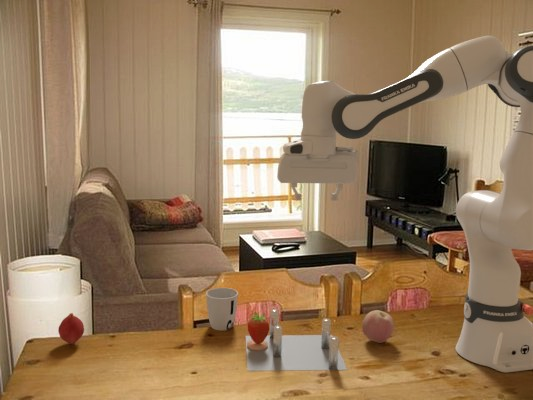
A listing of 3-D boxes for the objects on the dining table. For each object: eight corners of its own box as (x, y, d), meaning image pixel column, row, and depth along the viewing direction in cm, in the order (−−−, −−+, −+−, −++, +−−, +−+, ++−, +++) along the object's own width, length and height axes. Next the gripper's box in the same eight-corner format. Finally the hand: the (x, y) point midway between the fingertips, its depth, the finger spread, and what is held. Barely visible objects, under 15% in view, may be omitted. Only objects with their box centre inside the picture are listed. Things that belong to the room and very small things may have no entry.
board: (332, 338, 140) (332, 335, 140) (346, 373, 123) (347, 369, 123) (245, 339, 139) (245, 335, 139) (247, 375, 121) (247, 370, 121)
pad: (267, 341, 136) (267, 339, 136) (268, 350, 131) (268, 348, 131) (246, 341, 135) (246, 339, 135) (247, 351, 131) (247, 348, 130)
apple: (379, 351, 134) (381, 320, 132) (355, 341, 139) (356, 311, 138) (399, 342, 139) (401, 312, 138) (374, 332, 145) (376, 303, 143)
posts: (324, 335, 140) (325, 308, 139) (338, 369, 123) (339, 340, 121) (269, 335, 139) (270, 309, 138) (275, 370, 122) (275, 340, 120)
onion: (53, 346, 133) (52, 315, 131) (70, 337, 138) (69, 306, 136) (73, 351, 131) (71, 319, 129) (89, 341, 136) (88, 310, 134)
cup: (232, 337, 140) (233, 300, 138) (202, 334, 141) (202, 297, 140) (240, 324, 148) (241, 289, 146) (211, 321, 149) (211, 286, 147)
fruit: (273, 343, 133) (274, 312, 132) (258, 350, 129) (259, 318, 128) (256, 337, 137) (257, 306, 135) (242, 343, 133) (242, 312, 131)
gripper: (356, 145, 144) (353, 198, 146) (277, 144, 142) (276, 197, 145) (361, 148, 138) (358, 203, 140) (279, 147, 136) (278, 202, 139)
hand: (316, 200), depth 143 cm, fingers open, 8 cm apart
